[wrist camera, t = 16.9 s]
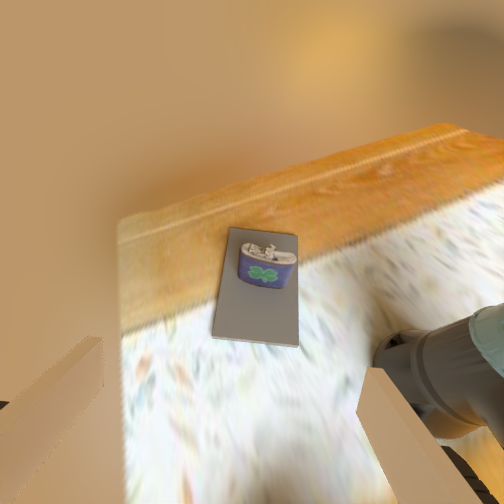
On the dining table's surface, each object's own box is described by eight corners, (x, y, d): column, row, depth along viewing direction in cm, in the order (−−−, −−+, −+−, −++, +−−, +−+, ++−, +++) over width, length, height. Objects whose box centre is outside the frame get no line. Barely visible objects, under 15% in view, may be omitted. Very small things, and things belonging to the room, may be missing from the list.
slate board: (296, 239, 55) (297, 235, 53) (296, 347, 43) (298, 345, 41) (230, 231, 54) (230, 227, 53) (212, 338, 42) (212, 335, 41)
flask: (287, 278, 48) (301, 246, 39) (285, 292, 46) (299, 263, 37) (238, 267, 48) (241, 234, 39) (235, 281, 47) (236, 249, 38)
